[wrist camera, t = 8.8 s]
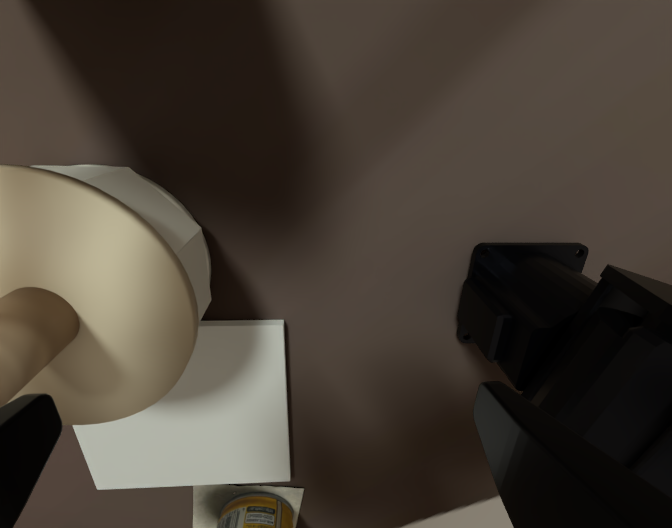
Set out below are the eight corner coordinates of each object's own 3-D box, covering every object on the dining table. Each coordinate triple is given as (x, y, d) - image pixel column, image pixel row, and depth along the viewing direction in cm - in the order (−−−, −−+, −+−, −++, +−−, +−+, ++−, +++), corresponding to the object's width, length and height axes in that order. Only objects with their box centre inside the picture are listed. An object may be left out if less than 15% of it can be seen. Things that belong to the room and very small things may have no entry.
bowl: (198, 165, 17) (157, 185, 13) (220, 335, 21) (195, 396, 17) (-20, 162, 17) (-147, 181, 12) (46, 338, 21) (-29, 403, 16)
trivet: (283, 319, 21) (283, 325, 21) (290, 473, 27) (290, 481, 26) (42, 323, 20) (35, 328, 20) (101, 481, 26) (97, 489, 25)
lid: (175, 166, 12) (110, 192, 8) (214, 407, 17) (183, 498, 13) (-178, 161, 12) (-434, 188, 8) (-37, 415, 16) (-150, 514, 12)
